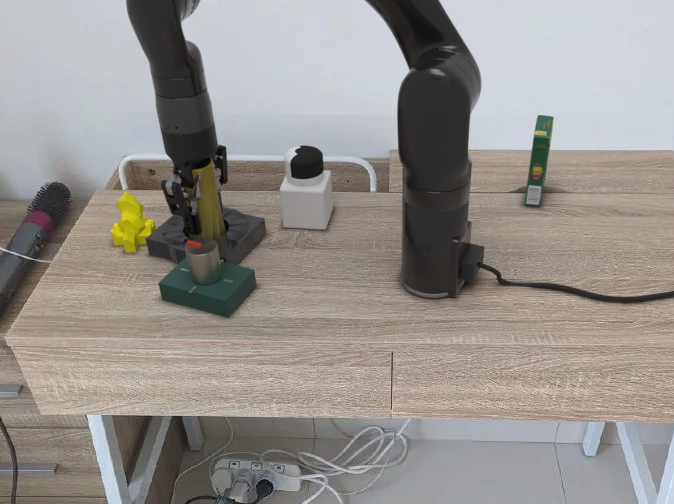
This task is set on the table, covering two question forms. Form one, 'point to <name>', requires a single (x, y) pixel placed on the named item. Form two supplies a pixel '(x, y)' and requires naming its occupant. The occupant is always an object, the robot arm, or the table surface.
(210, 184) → the vase
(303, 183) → the medicine bottle
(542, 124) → the coffee box
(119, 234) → the yellow faceted cluster
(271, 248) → the table surface
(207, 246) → the grey rotary knob
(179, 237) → the square flange with hole
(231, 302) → the panel
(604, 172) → the table surface
